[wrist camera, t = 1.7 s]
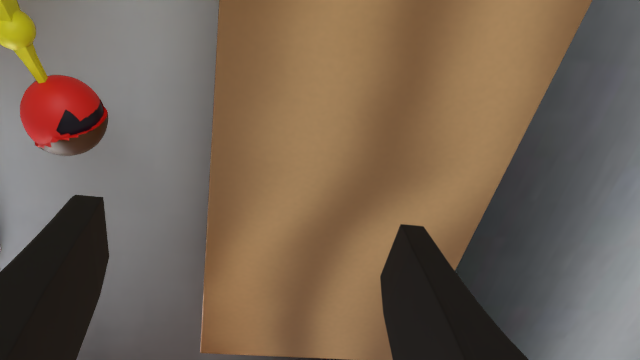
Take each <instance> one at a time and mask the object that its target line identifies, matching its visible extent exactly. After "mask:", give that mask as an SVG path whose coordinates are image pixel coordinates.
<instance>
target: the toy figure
mask: <svg viewBox="0 0 640 360" xmlns="http://www.w3.org/2000/svg"><path fill="white" fill-rule="evenodd" d="M35 37H36V28H35V25H34V23H33V21H32V19H31V18H30V17H29V16H28V15H27V14H25V13H24V12H22V11H21V10H20V8H19V5H18V2H17V0H0V45H2V46H4V47H6V48H8V49H12V50H14V52H15V53H16V54H17V55H18V57H19V58H20V59H21V60H22V61H23V63H24V64H25V65H26V67H27V68H28V69H29V71H30V72H31V74H32V75H33V76H34V78H35V79H36V80H37V81H35V82H34V83H33V84H32V85H30V86H29V87H28V88H27V90H26V91H25V93H24V95H23V97H22V100H21V104H20V117H21V121H22V123H23V126H24V128H25V130H26V132H27V133H28V135H29V136H30V137H31V138H32V139H33V140H34V141H35V145H36V146H37V147H39V148H41V149H43V150H45V151H47V152H50V153H53V154H56V155H62V156H72V155H77V154H81V153H84V152H87V151H88V150H90V149H91V148H93V147H94V146H96V145H97V144H98V143H99V142H100V140H101V139H102V137H103V136H104V134H105V131H106V128H107V123H108V112H107V110H106V108H105V107H104V106H103V104H102V102H101V100H100V98H99V97H98V96H97V94H96V93H95V92H94V91H93V90H92V89H91V88H90V87H89V86H88V85H86V84H85V83H83V82H82V81H80V80H78V79H75V78H73V77H69V76H63V75H51V76H47V75H46V73H45V71H44V69H43V67H42V65H41V63H40V60H39V58H38V56H37V54H36V51H35V48H34V46H33V41H34V39H35Z"/></svg>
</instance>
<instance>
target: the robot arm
mask: <svg viewBox="0 0 640 360" xmlns="http://www.w3.org/2000/svg"><path fill="white" fill-rule="evenodd" d="M0 252H1V245H0ZM108 259H109V251H108V241H107V231H106V221H105V211H104V201H103V197H94V196H83V195H75V196H73V197H72V198H70V200H69V201H68V202H67V203H66V204H65V205H64V206H63V208H62V209H61V210H60V211H59V212H58V213H57V214H56V216H55V217H54V218H53V219H52V220H51V221H50V222H49V223H48V224H47V225H46V226H45V228H44V229H43V230H42V231H41V232H40V233H39V234H38V235H37V236H36V237H35V238H34V239H33V240H32V241H31V242H30V243H29V244H28V245H27V246H26V247H25V248H24V249H23V250H22V251H21V252H20V253H19V254H18V255H17V256H16V257H15V258H14V259H13V260H12V261H11V262H10V263H9V264H8V265H7V266H6V267H5V268H4V269H3V270H2V271H1V272H0V360H76V359H77V356H78V353H79V351H80V348H81V345H82V343H83V340H84V337H85V335H86V332H87V329H88V327H89V324H90V321H91V318H92V316H93V313H94V310H95V308H96V305H97V302H98V299H99V297H100V293H101V289H102V285H103V281H104V277H105V272H106V268H107V264H108ZM380 281H381V295H382V306H383V315H384V320H385V325H386V330H387V335H388V339H389V344H390V349H391V354H392V358H393V360H528V358H527V357H526V356H525V355H524V354H523V353H522V352H521V351H520V350H519V349H518V348H517V347H516V346H515V345H514V344H513V343H512V342H511V341H510V340H509V339H508V337H507V336H506V335H505V334H504V333H503V332H502V331H501V330H500V328H499V327H498V326H497V325H496V324H495V323H494V321H493V320H492V319H491V318H490V317H489V315H488V314H487V313H486V312H485V311H484V309H483V308H482V307H481V306H480V304H479V303H478V302H477V300H476V299H475V298H474V296H473V295H472V294H471V292H470V291H469V290H468V288H467V287H466V286H465V284H464V283H463V282H462V280H461V279H460V278H459V276H458V275H457V274H456V272H455V271H454V269H453V268H452V266H451V265H450V264H449V262H448V261H447V259H446V258H445V256H444V255H443V254H442V252H441V251H440V249H439V248H438V246H437V245H436V243H435V242H434V241H433V239H432V238H431V236H430V235H429V233H428V232H427V230H426V229H425V228H424V226H416V225H405V224H400V227H399V229H398V232H397V234H396V237H395V240H394V242H393V245H392V247H391V250H390V252H389V255H388V258H387V260H386V263H385V265H384V268H383V270H382V273H381V276H380Z"/></svg>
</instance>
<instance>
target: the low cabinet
mask: <svg viewBox="0 0 640 360" xmlns="http://www.w3.org/2000/svg"><path fill="white" fill-rule="evenodd" d="M591 2H592V0H219V14H218V32H217V51H216V69H215V87H214V106H213V124H212V142H211V160H210V179H209V197H208V215H207V233H206V252H205V270H204V288H203V307H202V325H201V343H200V353H212V354H235V355H258V356H281V357H304V358H327V359H350V360H393V358H392V354H391V349H390V344H389V339H388V335H387V330H386V325H385V320H384V315H383V306H382V295H381V281H380V276H381V273H382V270H383V268H384V265H385V263H386V260H387V258H388V255H389V252H390V250H391V247H392V245H393V242H394V240H395V237H396V234H397V232H398V229H399V227H400V224H405V225H416V226H424V228H425V229H426V230H427V232H428V233H429V235H430V236H431V238H432V239H433V241H434V242H435V243H436V245H437V246H438V248H439V249H440V251H441V252H442V254H443V255H444V256H445V258H446V259H447V261H448V262H449V264H450V265H451V266H452V268H453V269H454V271H455V269H456V267H457V265H458V263H459V261H460V259H461V257H462V255H463V254H464V252H465V250H466V248H467V246H468V244H469V242H470V240H471V238H472V236H473V234H474V232H475V230H476V228H477V226H478V224H479V222H480V220H481V218H482V216H483V214H484V212H485V210H486V208H487V206H488V204H489V202H490V200H491V198H492V197H493V195H494V193H495V191H496V189H497V187H498V185H499V183H500V181H501V179H502V177H503V175H504V173H505V171H506V169H507V167H508V165H509V163H510V161H511V159H512V157H513V155H514V153H515V151H516V149H517V147H518V145H519V143H520V141H521V139H522V138H523V136H524V134H525V132H526V130H527V128H528V126H529V124H530V122H531V120H532V118H533V116H534V114H535V112H536V110H537V108H538V106H539V104H540V102H541V100H542V98H543V96H544V94H545V92H546V90H547V88H548V86H549V84H550V82H551V81H552V79H553V77H554V75H555V73H556V71H557V69H558V67H559V65H560V63H561V61H562V59H563V57H564V55H565V53H566V51H567V49H568V47H569V45H570V43H571V41H572V39H573V37H574V35H575V33H576V31H577V29H578V27H579V25H580V24H581V22H582V20H583V18H584V16H585V14H586V12H587V10H588V8H589V6H590V4H591Z"/></svg>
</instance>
